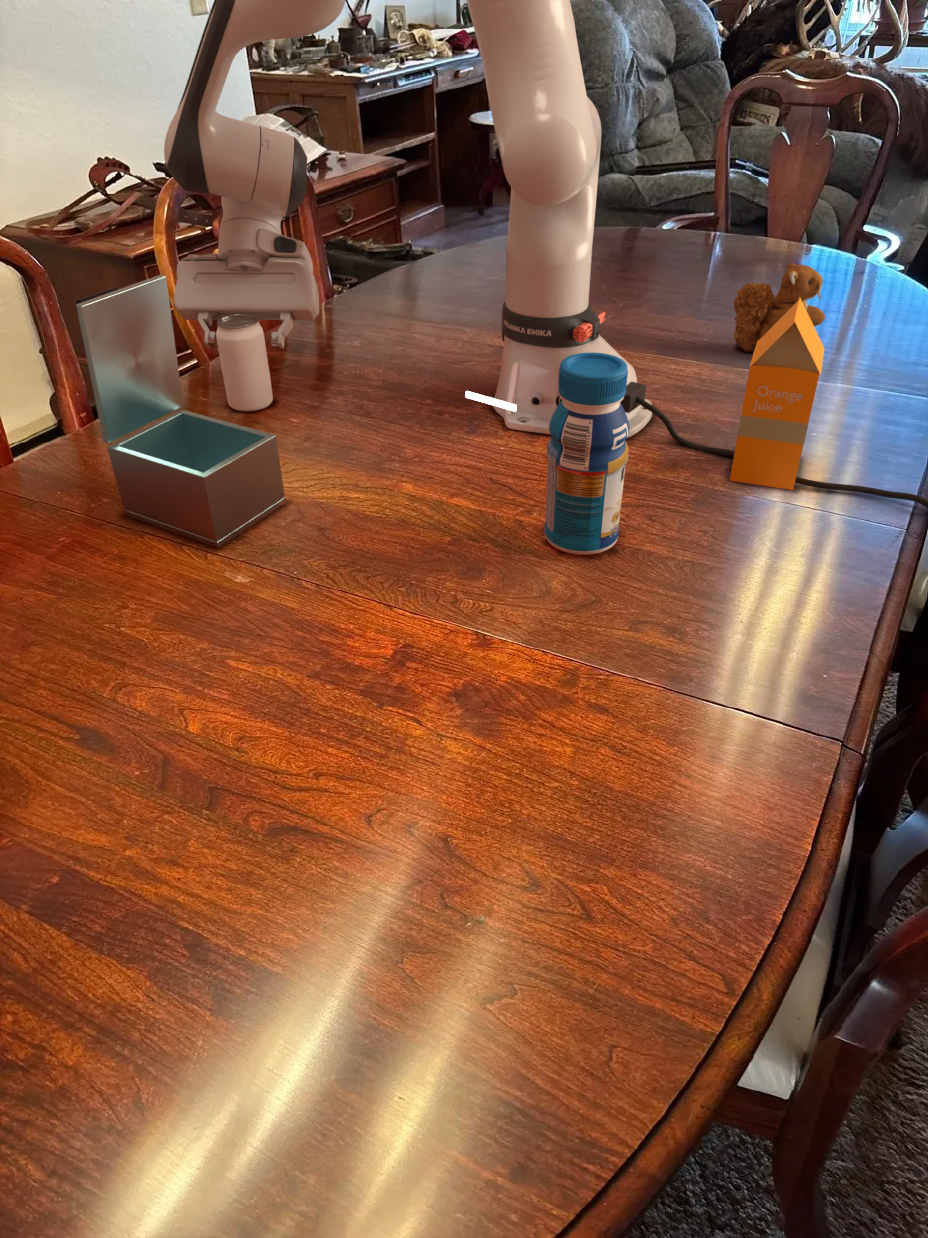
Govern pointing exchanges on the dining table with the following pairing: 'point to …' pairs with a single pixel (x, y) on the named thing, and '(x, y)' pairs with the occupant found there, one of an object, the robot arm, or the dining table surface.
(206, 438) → the open metal box
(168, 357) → the lid
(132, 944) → the dining table surface
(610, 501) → the beverage bottle
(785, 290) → the stuffed squirrel
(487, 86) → the robot arm
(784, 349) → the orange juice
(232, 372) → the can
